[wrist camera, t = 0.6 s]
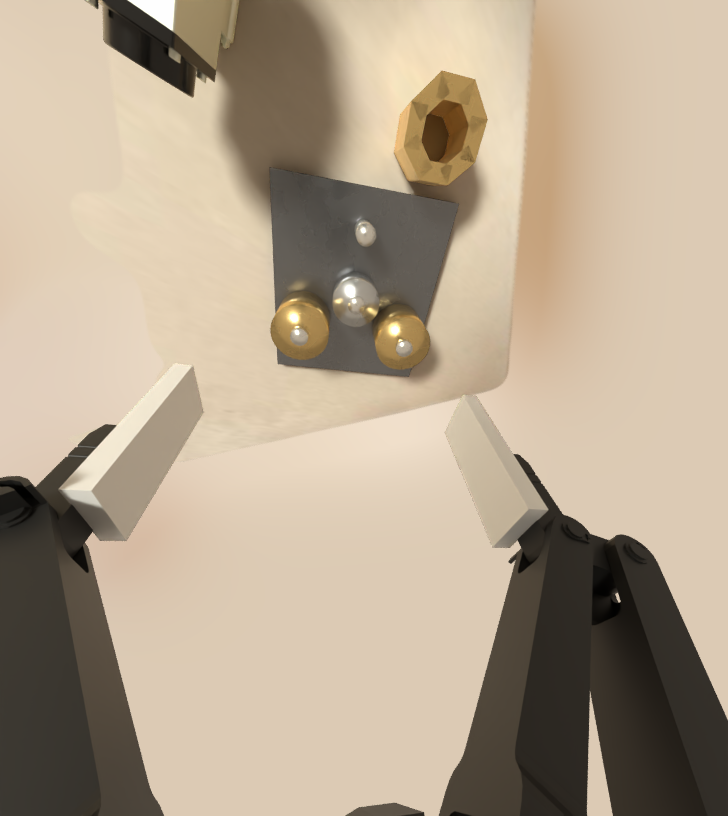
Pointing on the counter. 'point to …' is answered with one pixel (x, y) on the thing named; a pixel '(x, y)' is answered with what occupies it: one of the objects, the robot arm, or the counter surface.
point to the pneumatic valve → (171, 35)
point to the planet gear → (462, 120)
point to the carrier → (353, 273)
